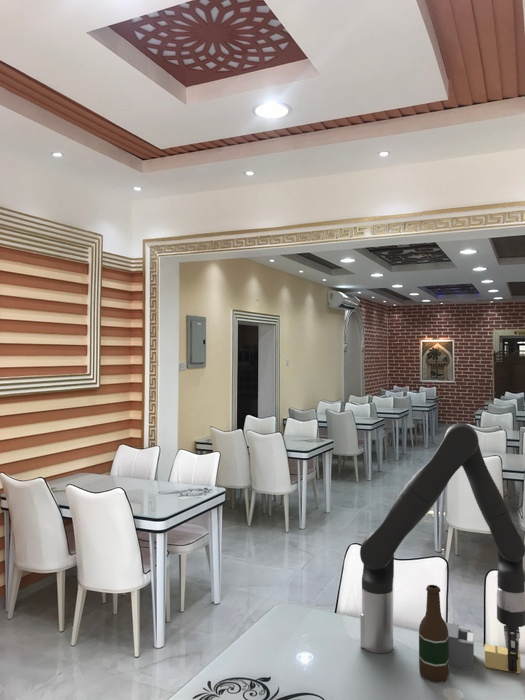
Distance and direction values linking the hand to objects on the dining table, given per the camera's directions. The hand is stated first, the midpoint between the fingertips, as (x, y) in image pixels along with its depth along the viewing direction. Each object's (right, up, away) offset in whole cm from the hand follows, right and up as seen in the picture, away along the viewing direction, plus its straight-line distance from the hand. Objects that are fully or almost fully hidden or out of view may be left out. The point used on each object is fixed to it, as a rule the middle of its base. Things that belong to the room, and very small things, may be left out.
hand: (512, 666), depth 152 cm
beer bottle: (-23, -1, -3) cm, 23 cm away
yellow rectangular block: (-2, -1, +1) cm, 3 cm away
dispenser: (-15, -1, +6) cm, 16 cm away
